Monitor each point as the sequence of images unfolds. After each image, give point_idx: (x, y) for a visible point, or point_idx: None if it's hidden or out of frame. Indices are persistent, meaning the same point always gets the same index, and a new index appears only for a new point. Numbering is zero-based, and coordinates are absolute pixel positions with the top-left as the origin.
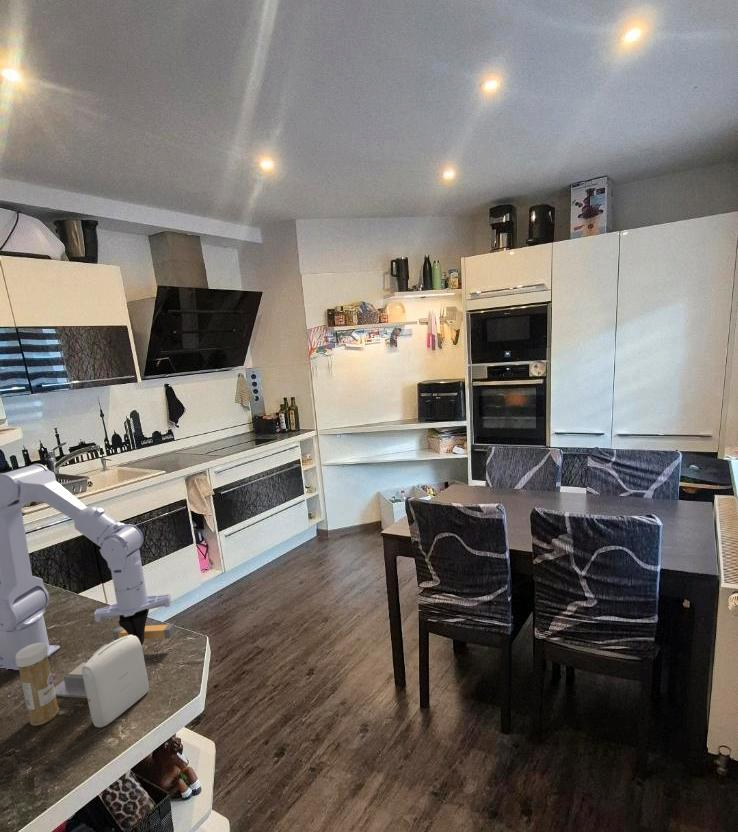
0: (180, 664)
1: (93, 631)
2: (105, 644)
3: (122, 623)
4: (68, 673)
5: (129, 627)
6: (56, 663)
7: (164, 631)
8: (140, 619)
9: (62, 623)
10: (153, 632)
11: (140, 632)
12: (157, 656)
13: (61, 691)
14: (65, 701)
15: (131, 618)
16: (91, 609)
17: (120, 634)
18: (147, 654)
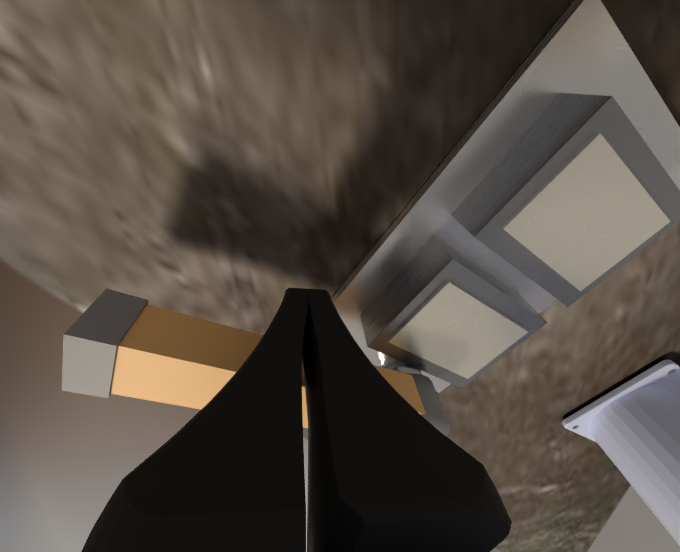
0: (16, 56)
1: (468, 453)
2: (466, 376)
3: (465, 498)
4: (660, 233)
5: (361, 414)
6: (591, 361)
7: (118, 336)
8: (162, 516)
9: (526, 492)
10: (213, 356)
11: (269, 350)
12: (225, 235)
13: (669, 156)
14: (675, 61)
15: (336, 548)
16: None
17: (412, 403)
18: (283, 275)
